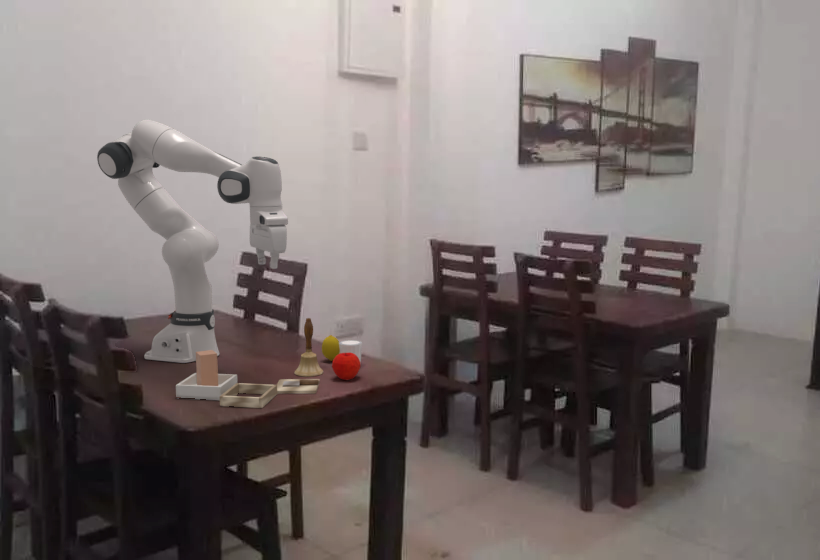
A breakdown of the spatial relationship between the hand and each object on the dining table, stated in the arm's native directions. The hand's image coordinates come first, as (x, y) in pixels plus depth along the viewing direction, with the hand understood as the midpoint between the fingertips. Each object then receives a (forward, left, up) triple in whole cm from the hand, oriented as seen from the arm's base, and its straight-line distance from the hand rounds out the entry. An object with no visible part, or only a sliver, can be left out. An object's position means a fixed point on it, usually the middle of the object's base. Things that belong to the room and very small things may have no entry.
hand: (267, 266), depth 232 cm
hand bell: (+10, +4, -31) cm, 33 cm away
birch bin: (+2, -23, -31) cm, 39 cm away
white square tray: (-11, -19, -31) cm, 38 cm away
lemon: (+13, +18, -31) cm, 38 cm away
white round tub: (+20, +14, -31) cm, 40 cm away
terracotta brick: (-11, -19, -30) cm, 37 cm away
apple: (+22, 0, -31) cm, 38 cm away
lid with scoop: (+11, -11, -31) cm, 35 cm away
